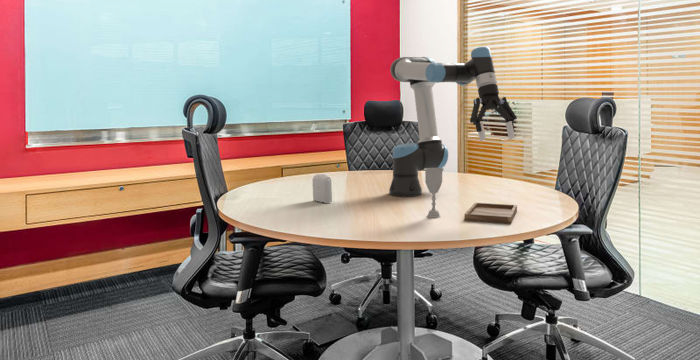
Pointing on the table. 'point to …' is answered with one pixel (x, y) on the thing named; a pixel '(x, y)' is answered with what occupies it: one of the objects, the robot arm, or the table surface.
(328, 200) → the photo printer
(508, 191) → the table surface
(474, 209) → the tray
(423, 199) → the table surface
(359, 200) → the table surface
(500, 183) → the table surface
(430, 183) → the chalice
